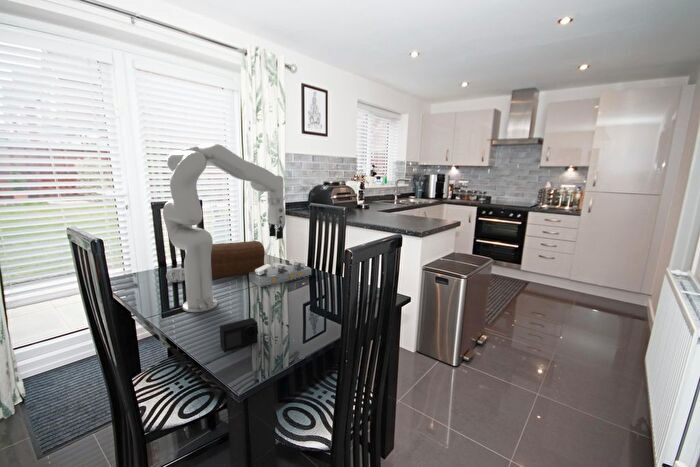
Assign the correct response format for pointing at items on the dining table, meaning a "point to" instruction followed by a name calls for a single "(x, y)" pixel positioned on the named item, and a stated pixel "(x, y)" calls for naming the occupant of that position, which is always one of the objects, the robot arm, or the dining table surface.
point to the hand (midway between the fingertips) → (276, 237)
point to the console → (279, 275)
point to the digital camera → (238, 334)
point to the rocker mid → (281, 266)
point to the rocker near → (263, 269)
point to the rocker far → (297, 263)
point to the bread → (236, 258)
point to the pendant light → (176, 273)
